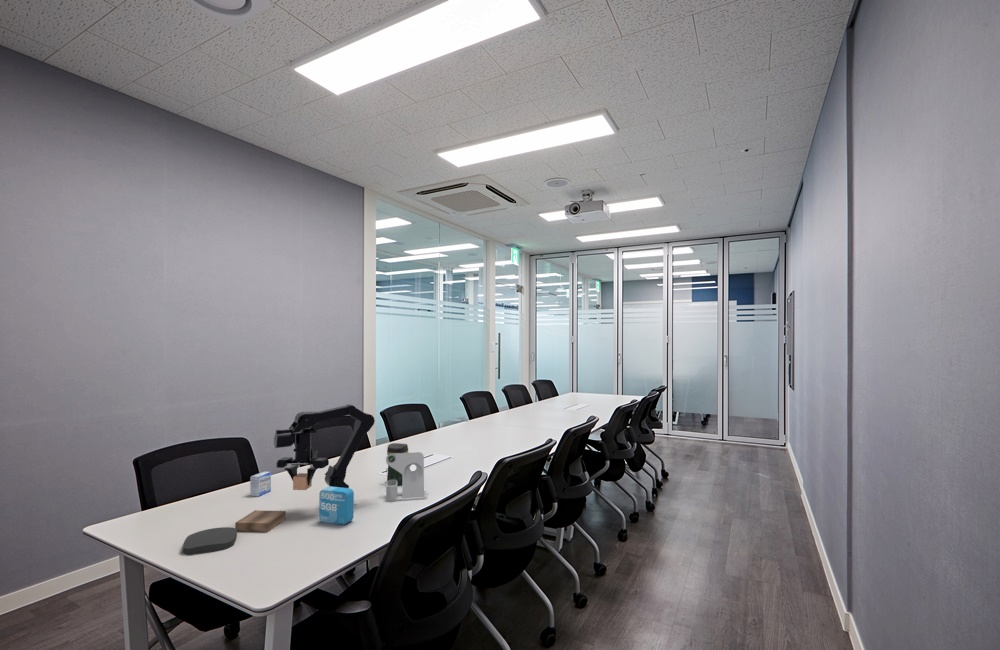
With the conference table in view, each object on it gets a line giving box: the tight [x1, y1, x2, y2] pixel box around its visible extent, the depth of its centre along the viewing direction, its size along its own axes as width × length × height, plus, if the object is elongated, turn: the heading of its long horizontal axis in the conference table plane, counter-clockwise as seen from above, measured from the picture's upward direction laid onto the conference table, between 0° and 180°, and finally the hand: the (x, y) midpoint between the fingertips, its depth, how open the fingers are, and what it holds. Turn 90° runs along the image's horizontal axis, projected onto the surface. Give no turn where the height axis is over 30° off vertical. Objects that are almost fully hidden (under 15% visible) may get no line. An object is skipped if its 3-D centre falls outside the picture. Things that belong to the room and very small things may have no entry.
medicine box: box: [249, 471, 272, 497], centre depth 207 cm, size 8×4×9 cm, turn 168°
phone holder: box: [385, 451, 428, 503], centre depth 203 cm, size 17×10×18 cm, turn 102°
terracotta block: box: [292, 472, 313, 491], centre depth 184 cm, size 5×5×5 cm
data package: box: [318, 485, 355, 526], centre depth 175 cm, size 12×4×12 cm, turn 74°
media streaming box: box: [182, 526, 238, 556], centre depth 156 cm, size 15×15×3 cm
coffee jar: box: [386, 442, 409, 486], centre depth 223 cm, size 10×8×19 cm
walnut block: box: [234, 509, 287, 533], centre depth 172 cm, size 12×12×3 cm
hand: (302, 484), depth 184 cm, fingers closed on terracotta block, 5 cm apart
